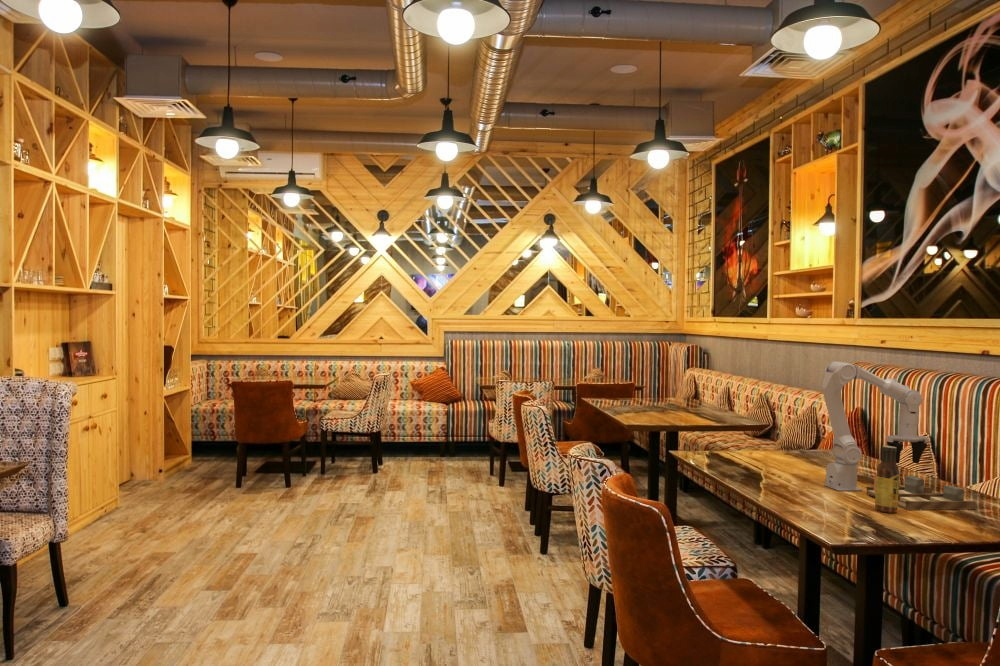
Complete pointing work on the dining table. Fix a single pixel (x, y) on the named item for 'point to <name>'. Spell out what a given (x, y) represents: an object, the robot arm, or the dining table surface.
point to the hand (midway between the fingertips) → (905, 462)
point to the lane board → (934, 499)
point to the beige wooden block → (910, 486)
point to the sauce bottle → (887, 481)
